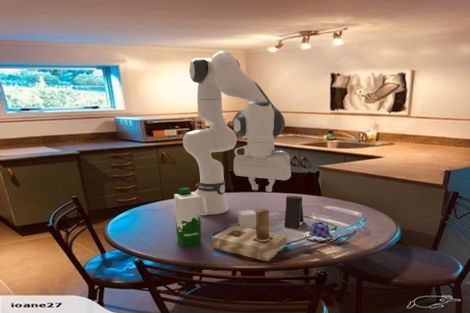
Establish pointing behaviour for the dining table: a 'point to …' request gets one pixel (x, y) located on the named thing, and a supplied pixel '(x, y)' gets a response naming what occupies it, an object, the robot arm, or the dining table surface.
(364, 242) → the dining table surface
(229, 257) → the dining table surface
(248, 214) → the white cube
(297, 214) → the black a-frame sign
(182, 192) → the milk carton
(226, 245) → the oak board
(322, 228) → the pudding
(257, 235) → the walnut peg
